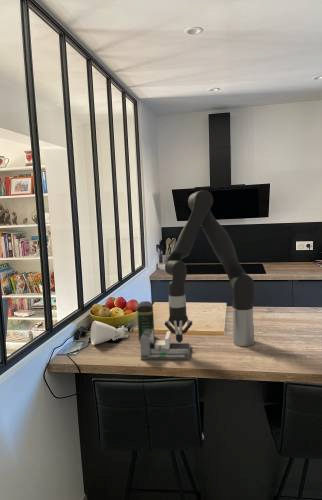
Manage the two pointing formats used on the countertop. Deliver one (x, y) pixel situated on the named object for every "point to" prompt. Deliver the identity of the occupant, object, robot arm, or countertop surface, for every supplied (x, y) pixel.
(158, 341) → the cream t-shaped handle
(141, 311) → the coffee jar
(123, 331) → the funnel
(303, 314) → the countertop surface
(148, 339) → the frame
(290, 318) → the countertop surface
